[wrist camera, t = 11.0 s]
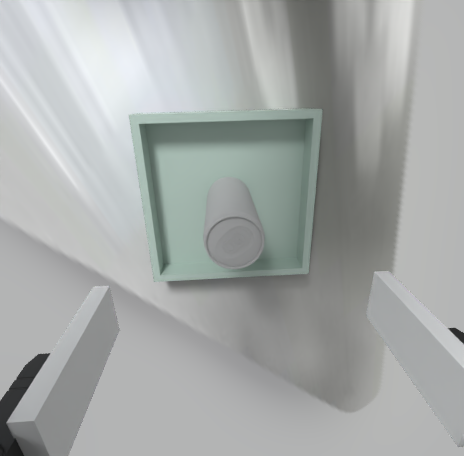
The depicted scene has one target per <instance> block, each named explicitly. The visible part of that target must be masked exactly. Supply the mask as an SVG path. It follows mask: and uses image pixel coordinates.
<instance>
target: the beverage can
mask: <svg viewBox="0 0 464 456" xmlns="http://www.w3.org/2000/svg"><path fill="white" fill-rule="evenodd" d="M203 241H204V247H205V250H206V252H207V254H208V256H209V258H210V259H211V260H212V261H213V262H214V263H215V264H217V265H218V266H221V267H223V268H226V269H241V268H245V267H247V266H249V265H251V264H253V263H254V262H255V261H256V260H257V259H258V258H259V257H260V255H261V253H262V251H263V248H264V241H265V234H264V230H263V227H262V224H261V221H260V219H259V216H258V213H257V211H256V208H255V205H254V203H253V200H252V197H251V195H250V192H249V189H248V187H247V186H246V184H245V183H243V182H242V181H241V180H239V179H237V178H234V177H223V178H220V179H218V180H217V181H215V182H214V183H213V184H212V186H211V187H210V189H209V192H208V195H207V204H206V215H205V224H204V234H203Z"/></svg>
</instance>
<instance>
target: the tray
mask: <svg viewBox="0 0 464 456" xmlns="http://www.w3.org/2000/svg"><path fill="white" fill-rule="evenodd" d="M322 112H323V109H316V108H303V109H269V110H236V111H202V112H169V113H137V114H131V115H129V120H130V126H131V133H132V139H133V146H134V153H135V159H136V166H137V172H138V179H139V186H140V192H141V199H142V205H143V212H144V219H145V225H146V232H147V238H148V245H149V252H150V258H151V265H152V271H153V278H154V282H160V281H179V280H198V279H217V278H237V277H256V276H275V275H294V274H309V262H310V251H311V239H312V228H313V216H314V205H315V193H316V181H317V170H318V158H319V147H320V135H321V124H322ZM223 177H234V178H237V179H239V180H241V181H242V182H243V183H245V184H246V186H247V187H248V189H249V192H250V195H251V197H252V200H253V203H254V205H255V208H256V211H257V213H258V216H259V219H260V221H261V224H262V227H263V230H264V234H265V241H264V248H263V251H262V253H261V255H260V257H259V258H258V259H257V260H256V261H255V262H254V263H253V264H251V265H249V266H247V267H245V268H241V269H226V268H223V267H221V266H218V265H217V264H215V263H214V262H213V261H212V260H211V259H210V258H209V256H208V254H207V252H206V250H205V247H204V241H203V234H204V224H205V215H206V204H207V195H208V192H209V189H210V187H211V186H212V184H213V183H214V182H215V181H217V180H218V179H220V178H223Z"/></svg>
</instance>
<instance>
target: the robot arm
mask: <svg viewBox="0 0 464 456" xmlns="http://www.w3.org/2000/svg"><path fill="white" fill-rule="evenodd" d="M366 316H367V318H368V319H369V321H370V322H371V323H372V325H373V326H374V328H375V329H376V331H377V332H378V333H379V335H380V336H381V338H382V339H383V341H384V342H385V343H386V345H387V346H388V348H389V349H390V351H391V352H392V353H393V355H394V356H395V358H396V359H397V360H398V362H399V363H400V365H401V366H402V368H403V369H404V371H405V372H406V373H407V375H408V376H409V378H410V379H411V381H412V382H413V383H414V385H415V386H416V388H417V389H418V391H419V392H420V394H421V395H422V396H423V398H424V399H425V401H426V402H427V404H428V405H429V406H430V408H431V409H432V411H433V412H434V414H435V415H436V416H437V418H438V419H439V421H440V422H441V424H442V425H443V426H444V428H445V429H446V431H447V432H448V433H449V435H450V436H451V438H452V439H453V441H454V442H455V444H456V445H457V446H458V447H463V446H464V333H463V332H461V331H459V330H458V329H456V328H447V327H446V326H445V325H444V324H443V323H442V322H440V321H439V319H438V318H437V317H435V316H434V315H433V314H432V313H431V312H430V311H429V310H428V309H427V308H426V307H425V306H424V305H423V304H422V303H421V302H420V301H419V300H418V299H417V298H416V297H415V296H414V295H413V294H412V293H411V292H410V291H409V290H408V289H407V288H406V287H405V286H404V285H403V284H402V283H401V282H400V281H399V280H398V279H397V278H396V277H395V276H394V275H393V274H392V273H391V272H390V271H377V272H374V276H373V281H372V286H371V292H370V297H369V302H368V307H367V313H366ZM118 333H119V325H118V321H117V316H116V312H115V308H114V303H113V299H112V294H111V290H110V286H94V287H93V288H92V290H91V292H90V293H89V294H88V296H87V297H86V299H85V301H84V302H83V304H82V305H81V307H80V308H79V310H78V312H77V313H76V315H75V316H74V318H73V319H72V321H71V322H70V324H69V326H68V327H67V329H66V330H65V332H64V333H63V335H62V336H61V338H60V340H59V341H58V343H57V344H56V346H55V347H54V349H53V350H52V352H51V353H49V354H38V355H37V356H36V357H35V358H34V359H32V360H31V361H30V362H29V363H28V364H26V365H25V367H24V368H23V370H22V371H21V372H20V374H19V375H18V377H17V380H15V381H14V382H13V384H12V385H11V387H10V388H9V391H7V392H6V394H5V395H4V397H3V398H2V399H1V401H0V456H68V455H69V452H70V450H71V448H72V445H73V443H74V440H75V438H76V436H77V433H78V431H79V428H80V426H81V423H82V421H83V418H84V416H85V413H86V411H87V409H88V406H89V403H90V401H91V399H92V396H93V394H94V391H95V389H96V386H97V384H98V382H99V379H100V377H101V374H102V372H103V369H104V367H105V364H106V362H107V359H108V357H109V355H110V352H111V349H112V347H113V345H114V342H115V340H116V337H117V335H118Z"/></svg>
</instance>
